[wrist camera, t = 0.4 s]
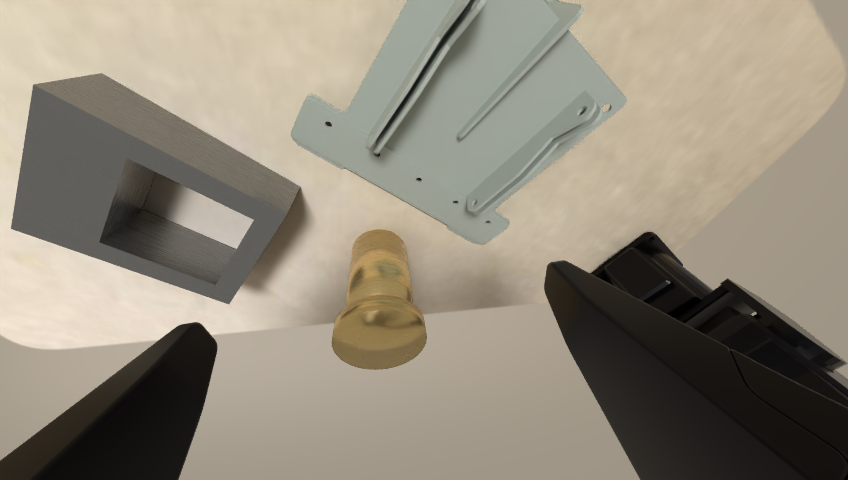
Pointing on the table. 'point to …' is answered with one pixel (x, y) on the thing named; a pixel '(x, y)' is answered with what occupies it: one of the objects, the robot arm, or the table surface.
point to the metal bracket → (465, 107)
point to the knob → (379, 306)
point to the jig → (138, 185)
